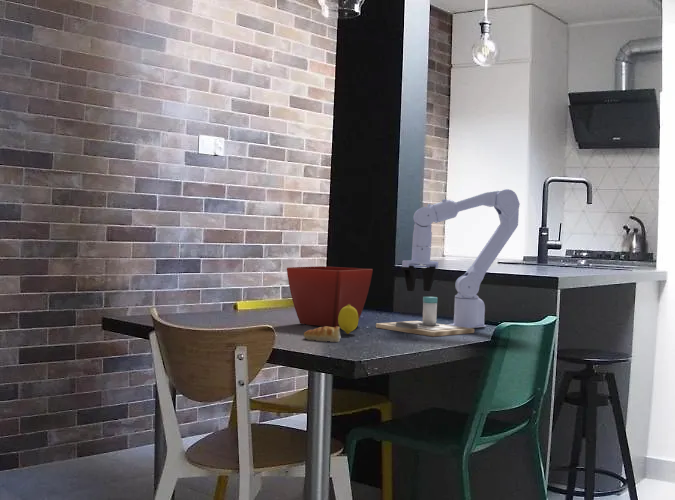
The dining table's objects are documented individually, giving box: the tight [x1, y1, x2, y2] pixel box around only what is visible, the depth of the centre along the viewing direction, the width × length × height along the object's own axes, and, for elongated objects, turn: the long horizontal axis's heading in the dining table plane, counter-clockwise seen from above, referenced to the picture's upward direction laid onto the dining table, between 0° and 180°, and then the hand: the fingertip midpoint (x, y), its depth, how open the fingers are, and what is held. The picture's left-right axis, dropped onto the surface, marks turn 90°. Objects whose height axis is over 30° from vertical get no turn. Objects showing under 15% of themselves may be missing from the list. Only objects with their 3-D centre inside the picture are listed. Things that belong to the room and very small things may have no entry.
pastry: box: [303, 326, 342, 343], centre depth 207 cm, size 9×7×4 cm
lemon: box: [338, 305, 360, 335], centre depth 221 cm, size 6×6×8 cm
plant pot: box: [286, 265, 373, 327], centre depth 241 cm, size 19×19×17 cm
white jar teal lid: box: [422, 296, 438, 325], centre depth 237 cm, size 4×4×8 cm
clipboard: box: [375, 320, 475, 337], centre depth 236 cm, size 18×22×2 cm
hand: (418, 290), depth 249 cm, fingers open, 7 cm apart
